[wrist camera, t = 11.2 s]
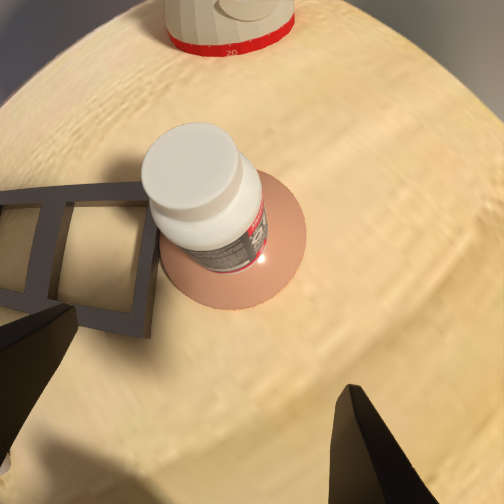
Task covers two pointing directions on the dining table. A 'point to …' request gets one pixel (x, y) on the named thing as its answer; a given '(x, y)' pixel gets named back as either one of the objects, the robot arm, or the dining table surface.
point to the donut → (5, 465)
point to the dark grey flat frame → (53, 244)
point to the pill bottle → (206, 197)
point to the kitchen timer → (227, 25)
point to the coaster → (257, 276)
